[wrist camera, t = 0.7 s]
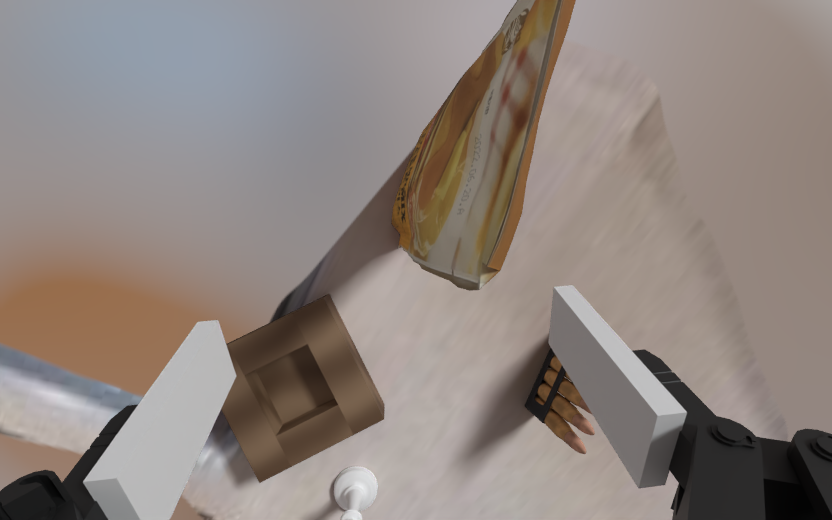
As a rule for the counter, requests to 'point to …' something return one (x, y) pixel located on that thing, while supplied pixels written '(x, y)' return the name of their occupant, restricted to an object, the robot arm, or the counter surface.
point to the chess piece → (355, 491)
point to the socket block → (298, 389)
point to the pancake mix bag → (481, 151)
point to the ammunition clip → (559, 403)
